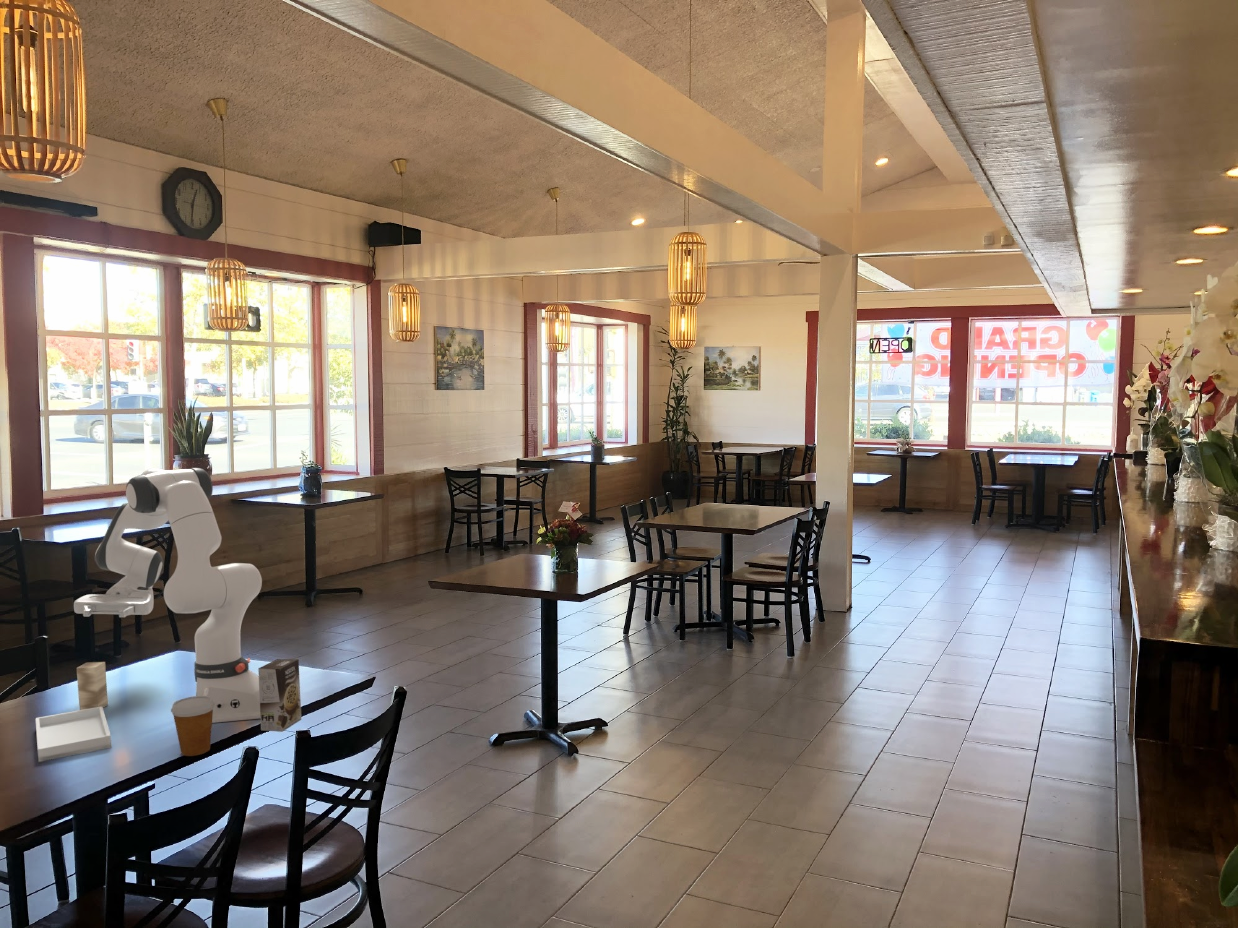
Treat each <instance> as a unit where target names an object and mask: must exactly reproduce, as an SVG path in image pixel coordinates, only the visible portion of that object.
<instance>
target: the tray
mask: <svg viewBox="0 0 1238 928" xmlns="http://www.w3.org/2000/svg"><path fill="white" fill-rule="evenodd" d="M35 728H36V743H37V744H36V745H37V746H36V747H37V756H38V762H39V763H41V762H46V761H51V759H52V760H57V759H60V758H66V757H73V756H75V755H80V754H86V753H91V752H96V751H102V750H106V749H110V748H112V738H111V732H110V728H109V725H108V721H107V719H106V715H105V711H104V708H103V707H102V706H101V707H95V708H90V709H84V710H80V709H79V710H73V711H67V712H62V713H61V712H60V713H57V714H52V715H51V714H50V715H45V716H39V717H36V718H35Z"/></svg>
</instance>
